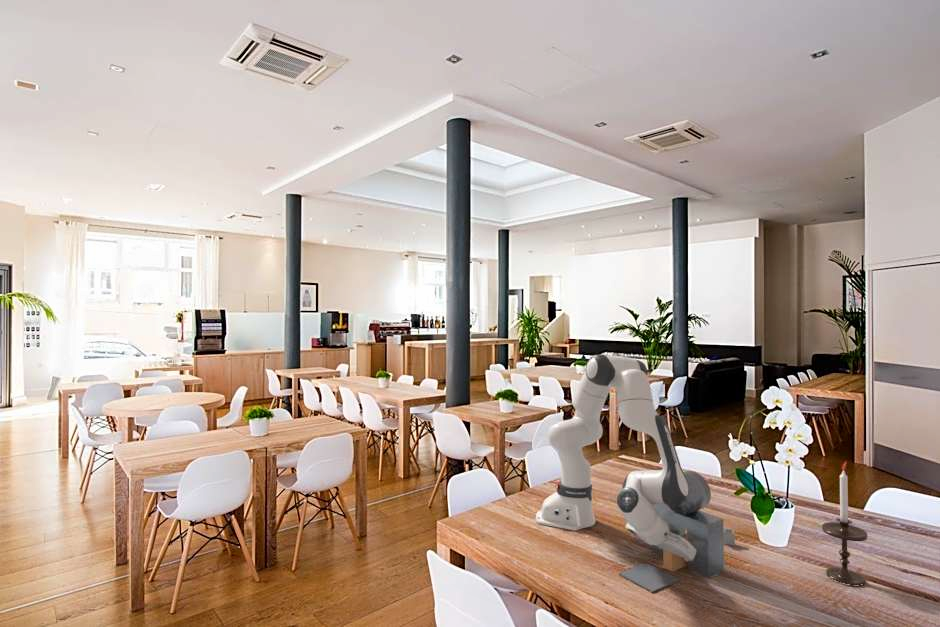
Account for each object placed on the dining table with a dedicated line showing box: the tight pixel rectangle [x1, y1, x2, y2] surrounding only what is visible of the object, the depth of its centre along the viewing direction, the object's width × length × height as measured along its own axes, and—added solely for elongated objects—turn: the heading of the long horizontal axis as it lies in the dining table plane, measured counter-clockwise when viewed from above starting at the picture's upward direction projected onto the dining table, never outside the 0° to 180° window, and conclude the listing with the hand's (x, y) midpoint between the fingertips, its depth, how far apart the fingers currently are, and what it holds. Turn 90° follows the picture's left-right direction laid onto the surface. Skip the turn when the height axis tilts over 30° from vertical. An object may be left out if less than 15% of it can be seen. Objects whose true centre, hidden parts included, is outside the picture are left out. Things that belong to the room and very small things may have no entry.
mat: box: [618, 562, 680, 593], centre depth 152 cm, size 12×12×1 cm
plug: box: [662, 532, 687, 572], centre depth 160 cm, size 12×3×8 cm, turn 123°
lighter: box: [723, 527, 736, 547], centre depth 175 cm, size 7×2×8 cm, turn 72°
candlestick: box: [821, 461, 868, 585], centre depth 151 cm, size 11×11×35 cm
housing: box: [651, 470, 725, 579], centre depth 162 cm, size 8×20×28 cm, turn 33°
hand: (673, 552), depth 158 cm, fingers open, 8 cm apart
